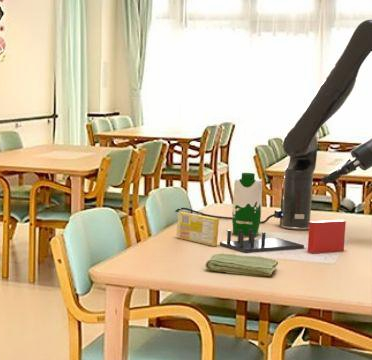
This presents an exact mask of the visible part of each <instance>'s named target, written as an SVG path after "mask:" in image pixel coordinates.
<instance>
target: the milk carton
mask: <svg viewBox="0 0 372 360" xmlns="http://www.w3.org/2000/svg"><path fill="white" fill-rule="evenodd" d="M255 177H256V173H254V172H241V177H236V178H235V179H234V185H233V196H232V197H233V198H232V216H231V217H232V219H231V221H232V235H233V236H238V230H239V229H240V230H242V234H244V237H249V229H253V230H252V233H255V237H257V235H258V234H259V229H260V224H261V223H260V222H261V219H262V201H263V182H262V180H263V179H262V178H255Z"/></svg>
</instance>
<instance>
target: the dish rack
mask: <svg viewBox="0 0 372 360" xmlns="http://www.w3.org/2000/svg"><path fill="white" fill-rule="evenodd" d="M252 230H253V229H249V236H248V239H244V238H245V236H244V234H242V230H240V229H239V230H238V235H237V240H231V239H232V229H231V230H230V229H228V230H227V234H226V241H219V246H221V247H223V248H226V249H227V248H228V249H231V250H235V251H237V252H240V253H244V254H247V253H258V252H260V253H261V252H273V251H286V250H298V249H299V250H300V249H304V248H305V244H301V243H298V242H293V241H289V240H286V239H283V238H280V237H279V238H278V237H274V238H266V232H265V231H262V232H261V238H258V239H255V233H252Z"/></svg>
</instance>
